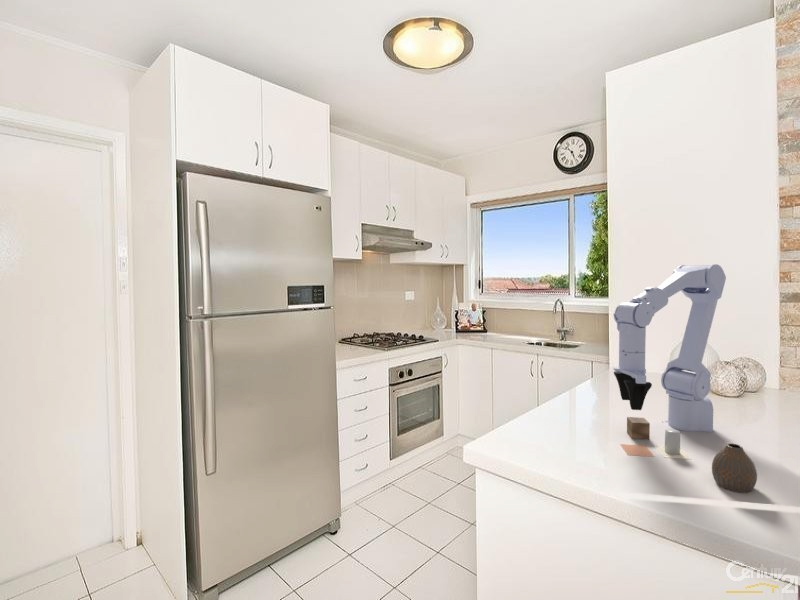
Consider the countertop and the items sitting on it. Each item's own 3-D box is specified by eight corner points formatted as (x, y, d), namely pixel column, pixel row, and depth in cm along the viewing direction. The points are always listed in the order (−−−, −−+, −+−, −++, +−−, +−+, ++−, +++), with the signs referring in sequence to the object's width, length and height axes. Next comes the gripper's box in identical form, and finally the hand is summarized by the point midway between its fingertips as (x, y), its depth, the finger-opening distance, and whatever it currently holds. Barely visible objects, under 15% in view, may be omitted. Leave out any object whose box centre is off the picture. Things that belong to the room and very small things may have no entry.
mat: (678, 449, 100) (678, 445, 100) (693, 464, 92) (694, 461, 92) (618, 445, 103) (618, 442, 103) (628, 460, 95) (628, 456, 95)
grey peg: (676, 450, 98) (677, 429, 97) (682, 455, 95) (682, 434, 95) (662, 449, 98) (662, 428, 98) (667, 454, 96) (668, 433, 95)
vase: (702, 481, 85) (703, 439, 84) (734, 479, 86) (735, 437, 85) (732, 500, 78) (733, 454, 78) (766, 497, 79) (768, 452, 78)
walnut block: (643, 436, 108) (644, 417, 108) (649, 442, 104) (649, 423, 104) (626, 435, 109) (627, 416, 108) (631, 442, 105) (632, 422, 105)
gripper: (606, 345, 112) (606, 395, 112) (622, 356, 97) (622, 413, 98) (636, 345, 110) (635, 396, 111) (656, 357, 96) (655, 415, 97)
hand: (631, 404), depth 105 cm, fingers open, 7 cm apart
